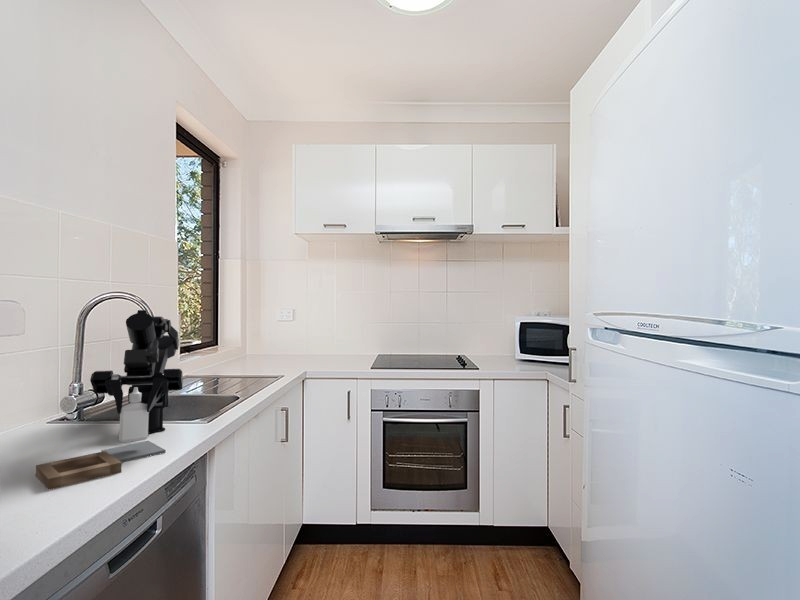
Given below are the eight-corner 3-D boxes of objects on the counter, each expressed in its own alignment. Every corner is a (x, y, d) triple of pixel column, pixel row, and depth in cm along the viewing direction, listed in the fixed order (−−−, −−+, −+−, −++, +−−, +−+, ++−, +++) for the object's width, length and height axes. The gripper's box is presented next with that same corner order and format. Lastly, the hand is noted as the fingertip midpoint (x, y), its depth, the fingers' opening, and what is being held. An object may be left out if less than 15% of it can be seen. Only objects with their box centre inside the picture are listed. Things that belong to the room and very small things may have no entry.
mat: (148, 443, 111) (148, 440, 111) (165, 452, 105) (165, 449, 105) (101, 452, 104) (101, 450, 104) (116, 463, 97) (116, 460, 97)
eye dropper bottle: (144, 441, 102) (146, 387, 103) (116, 443, 101) (118, 388, 102) (149, 438, 106) (151, 386, 108) (122, 439, 105) (125, 386, 106)
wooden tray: (105, 460, 99) (105, 451, 99) (121, 472, 92) (121, 462, 92) (35, 475, 90) (35, 465, 90) (48, 489, 83) (48, 478, 83)
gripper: (93, 336, 105) (77, 394, 94) (182, 335, 111) (176, 390, 101) (102, 365, 112) (87, 421, 102) (185, 363, 119) (179, 416, 108)
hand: (133, 411), depth 103 cm, fingers closed on eye dropper bottle, 5 cm apart
